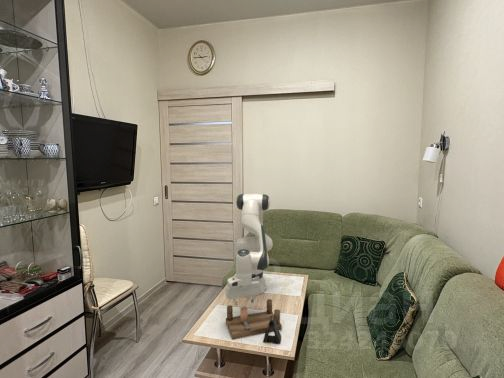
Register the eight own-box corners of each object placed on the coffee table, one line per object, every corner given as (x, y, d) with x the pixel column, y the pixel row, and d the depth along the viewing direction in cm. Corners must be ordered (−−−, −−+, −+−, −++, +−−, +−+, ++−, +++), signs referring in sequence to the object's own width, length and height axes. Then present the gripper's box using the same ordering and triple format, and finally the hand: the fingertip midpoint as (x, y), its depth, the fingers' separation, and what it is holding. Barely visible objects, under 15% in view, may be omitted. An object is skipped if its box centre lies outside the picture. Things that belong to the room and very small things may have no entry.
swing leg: (251, 329, 163) (251, 316, 162) (244, 330, 162) (244, 317, 161) (246, 318, 173) (246, 306, 172) (239, 320, 172) (239, 307, 171)
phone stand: (262, 342, 157) (262, 320, 156) (264, 335, 163) (264, 314, 161) (280, 344, 155) (280, 322, 154) (281, 337, 161) (281, 316, 160)
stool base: (225, 322, 175) (225, 305, 173) (271, 314, 183) (271, 298, 181) (232, 339, 160) (232, 320, 158) (281, 330, 168) (281, 312, 166)
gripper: (259, 275, 173) (259, 298, 174) (224, 279, 167) (225, 303, 168) (263, 279, 167) (263, 303, 168) (227, 284, 161) (227, 309, 162)
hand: (244, 303), depth 168 cm, fingers open, 8 cm apart
